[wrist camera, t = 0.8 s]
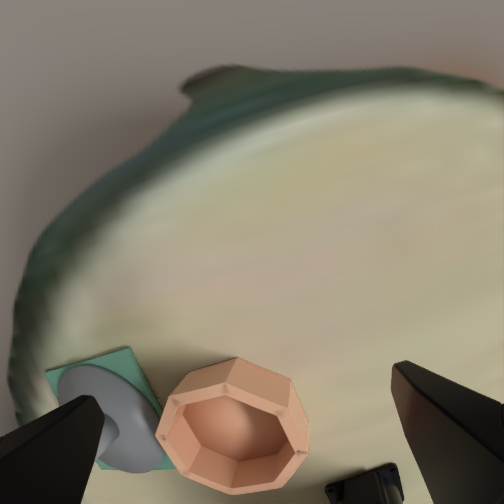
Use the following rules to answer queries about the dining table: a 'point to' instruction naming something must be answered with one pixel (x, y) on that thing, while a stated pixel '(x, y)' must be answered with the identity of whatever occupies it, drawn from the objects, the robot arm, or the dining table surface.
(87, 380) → the lid
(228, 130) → the dining table surface
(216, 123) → the dining table surface
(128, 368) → the mat
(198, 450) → the bowl
